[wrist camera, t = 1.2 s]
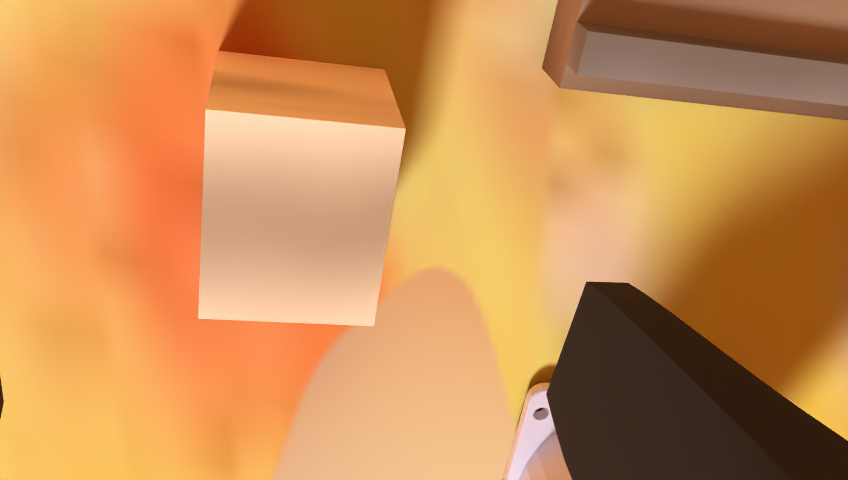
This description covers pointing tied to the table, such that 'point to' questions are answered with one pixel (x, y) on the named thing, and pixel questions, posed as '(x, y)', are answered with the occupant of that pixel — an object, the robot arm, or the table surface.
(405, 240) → the table surface
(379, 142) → the block
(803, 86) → the walnut board
